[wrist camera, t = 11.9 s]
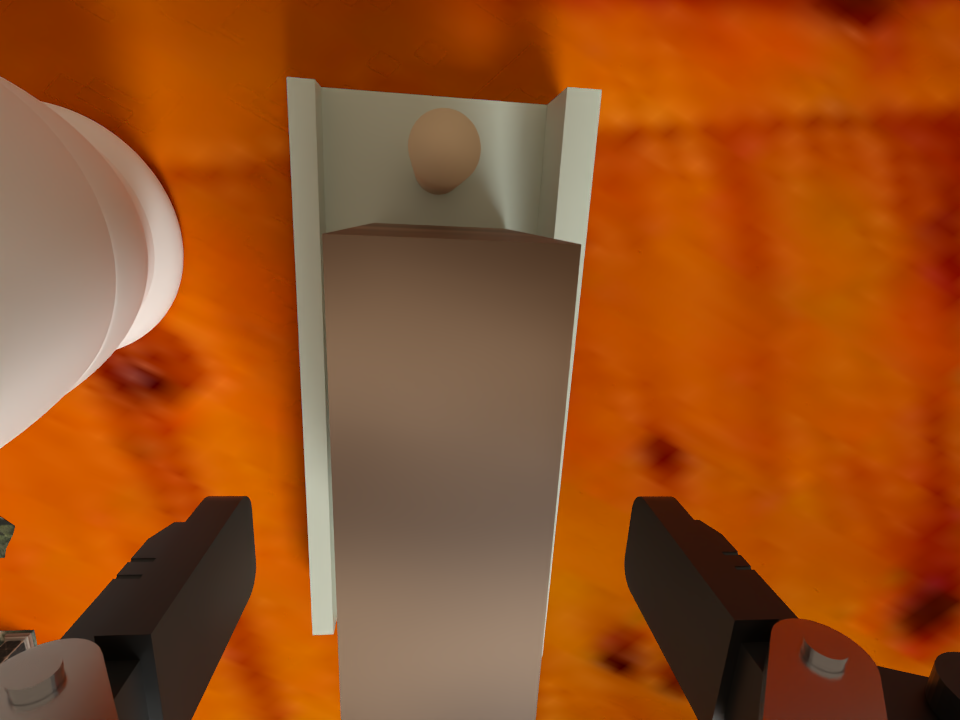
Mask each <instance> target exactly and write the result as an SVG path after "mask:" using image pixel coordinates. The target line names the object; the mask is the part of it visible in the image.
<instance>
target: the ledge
mask: <svg viewBox="0 0 960 720" xmlns="http://www.w3.org/2000/svg"><path fill="white" fill-rule="evenodd" d="M286 79H287V101H288V122H289V143H290V164H291V185H292V206H293V228H294V249H295V270H296V291H297V312H298V334H299V355H300V376H301V397H302V418H303V439H304V461H305V482H306V503H307V524H308V545H309V567H310V588H311V609H312V630H313V635H326V634H333V633H334V629H335V624H336V620H337V603H336V578H335V552H334V526H333V501H332V475H331V450H330V424H329V399H328V373H327V347H326V322H325V296H324V271H323V245H322V234H324V233H328V232H333V231H338V230H342V229H347V228H352V227H357V226H361V225H366V224H371V223H389V224H412V225H435V226H458V227H481V228H504V229H510V230H515V231H520V232H524V233H529V234H534V235H539V236H544V237H548V238H553V239H558V240H563V241H568V242H572V243H577V244H581V254H580V265H579V275H578V285H577V296H576V306H575V316H574V327H573V337H572V347H571V358H570V368H569V378H568V389H567V399H566V409H565V420H564V430H563V440H562V451H561V461H560V471H559V482H558V492H557V502H556V513H555V523H554V533H553V544H552V554H551V564H550V575H549V585H548V596H547V606H548V597H549V587H550V578H551V568H552V559H553V549H554V540H555V530H556V521H557V511H558V502H559V492H560V483H561V473H562V464H563V454H564V445H565V435H566V426H567V416H568V407H569V397H570V388H571V378H572V369H573V359H574V350H575V340H576V331H577V321H578V312H579V302H580V293H581V283H582V274H583V264H584V255H585V245H586V236H587V226H588V217H589V207H590V198H591V188H592V179H593V169H594V159H595V150H596V140H597V131H598V121H599V112H600V102H601V93H602V90H597V89H585V88H573V87H567V88H566V89H565V90H564V91H562V92H561V93H560V94H559V95H558V96H557V97H556V98H554V99H553V100H552V101H551V102H550V103H549V104H548V105H543V104H530V103H517V102H504V101H492V100H479V99H466V98H454V97H441V96H428V95H415V94H403V93H390V92H377V91H365V90H352V89H339V88H326V87H321V86H320V85H319V84H318V83H317V81H316V80H315V79H307V78H294V77H286ZM547 606H546V616H547ZM546 616H545V625H546ZM544 635H545V627H544ZM543 644H544V637H543ZM542 654H543V647H542Z"/></svg>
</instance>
